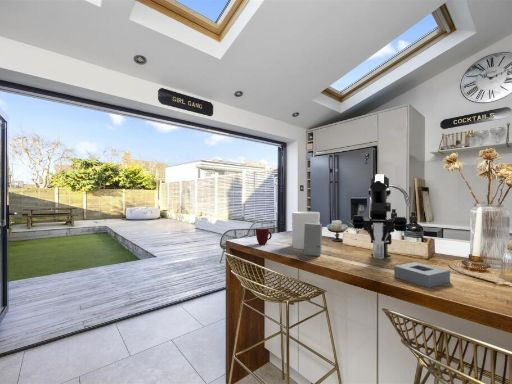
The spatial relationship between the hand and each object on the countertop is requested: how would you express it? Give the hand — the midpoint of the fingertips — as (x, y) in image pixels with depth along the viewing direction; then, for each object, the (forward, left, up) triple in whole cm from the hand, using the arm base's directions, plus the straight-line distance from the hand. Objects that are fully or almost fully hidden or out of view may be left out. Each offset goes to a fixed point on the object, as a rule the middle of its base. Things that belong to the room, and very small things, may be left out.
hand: (378, 240), depth 91 cm
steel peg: (-1, -1, -7) cm, 7 cm away
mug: (+11, -72, -13) cm, 74 cm away
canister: (-8, -55, -13) cm, 58 cm away
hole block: (-11, +9, -13) cm, 19 cm away
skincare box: (0, -38, -13) cm, 41 cm away
